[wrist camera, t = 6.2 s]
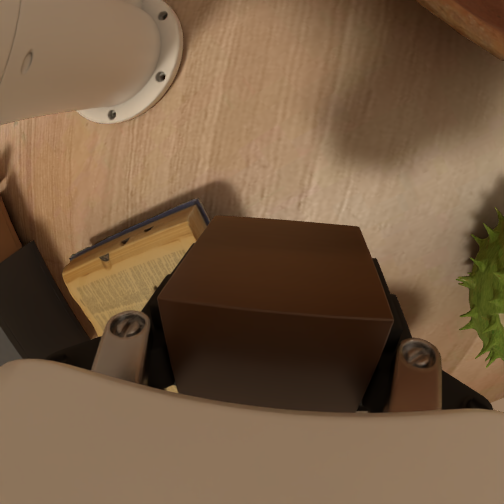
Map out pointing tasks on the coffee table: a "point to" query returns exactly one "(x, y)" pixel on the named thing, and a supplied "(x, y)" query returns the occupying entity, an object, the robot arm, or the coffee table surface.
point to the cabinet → (33, 309)
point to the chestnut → (488, 292)
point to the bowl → (473, 20)
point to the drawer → (7, 235)
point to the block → (276, 315)
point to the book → (132, 263)
